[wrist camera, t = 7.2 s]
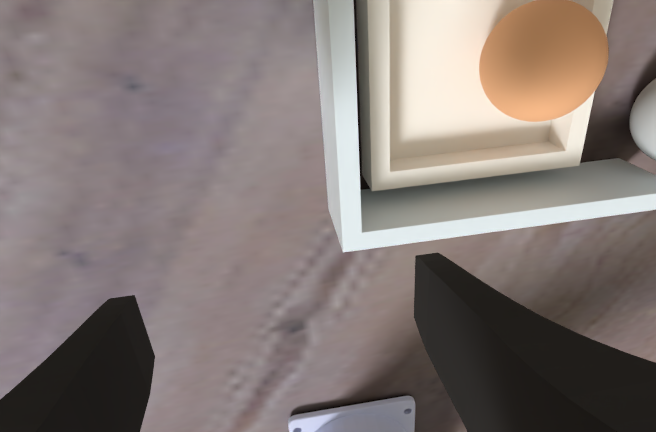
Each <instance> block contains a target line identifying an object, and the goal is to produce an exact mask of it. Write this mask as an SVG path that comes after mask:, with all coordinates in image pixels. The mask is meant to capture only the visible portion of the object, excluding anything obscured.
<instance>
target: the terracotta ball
mask: <svg viewBox="0 0 656 432" xmlns="http://www.w3.org/2000/svg"><path fill="white" fill-rule="evenodd" d="M608 53H609V49H608V40H607V37H606V33H605V31H604V29H603V27H602V25H601V23H600V22H599V20H598V19H597V17H596V16H595V15H594V14H593V13H592V12H590V11H589V10H588V9H586V8H585V7H584V6H582V5H580V4H578V3H576V2H573V1H569V0H536V1H532V2H529V3H527V4H524V5H522V6H520V7H518V8H516V9H514V10H513V11H511V12H510V13H509V14H507V15H506V16H505V17H504V18H503V19H502V20H500V21H499V22H498V24H497V25H496V26H495V27H494V28H493V30H492V31H491V33H490V34H489V36H488V37H487V39H486V41H485V44H484V46H483V49H482V52H481V56H480V62H479V75H480V81H481V85H482V87H483V90H484V92H485V94H486V96H487V98H488V99H489V100H490V102H491V103H492V104H493V105H494V106H495V107H496V108H497V109H498V110H500V111H501V112H503V113H504V114H506V115H508V116H510V117H512V118H515V119H518V120H522V121H528V122H540V121H547V120H552V119H556V118H559V117H562V116H564V115H566V114H568V113H570V112H572V111H573V110H575V109H576V108H578V107H579V106H580V105H582V104H583V103H584V102H585V101H586V100H587V99H588V98H589V97H590V96H591V95H592V94H593V93H594V91H595V90H596V89H597V87H598V85H599V84H600V82H601V80H602V78H603V76H604V73H605V70H606V67H607V63H608Z"/></svg>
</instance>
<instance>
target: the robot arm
mask: <svg viewBox="0 0 656 432" xmlns="http://www.w3.org/2000/svg"><path fill="white" fill-rule="evenodd" d="M414 318H415V321H416V324H417V327H418V330H419V333H420V335H421V338H422V341H423V344H424V346H425V349H426V351H427V353H428V355H429V357H430V359H431V361H432V363H433V365H434V367H435V369H436V371H437V373H438V375H439V377H440V379H441V381H442V383H443V384H444V386H445V388H446V390H447V392H448V394H449V396H450V398H451V400H452V402H453V404H454V406H455V408H456V410H457V411H458V413H459V415H460V417H461V419H462V421H463V423H464V425H465V427H466V429H467V432H656V363H655V362H651V361H648V360H645V359H643V358H640V357H637V356H634V355H631V354H628V353H625V352H623V351H620V350H618V349H615V348H612V347H610V346H607V345H605V344H602V343H600V342H597V341H594V340H592V339H590V338H587V337H585V336H583V335H580V334H578V333H576V332H574V331H571V330H569V329H567V328H565V327H563V326H561V325H559V324H556V323H554V322H552V321H550V320H548V319H546V318H544V317H542V316H540V315H538V314H536V313H535V312H533V311H531V310H529V309H527V308H526V307H524V306H522V305H520V304H518V303H517V302H515V301H513V300H511V299H510V298H508V297H506V296H505V295H503V294H501V293H500V292H498V291H496V290H495V289H493V288H492V287H490V286H488V285H487V284H485V283H484V282H482V281H481V280H479V279H478V278H476V277H474V276H473V275H471V274H470V273H468V272H467V271H465V270H464V269H462V268H461V267H459V266H458V265H456V264H455V263H453V262H452V261H450V260H449V259H447V258H446V257H444V256H443V255H441V254H439V253H432V254H425V255H418V256H416V262H415V297H414ZM154 359H155V355H154V352H153V349H152V346H151V343H150V340H149V337H148V334H147V331H146V328H145V325H144V322H143V319H142V316H141V313H140V310H139V307H138V304H137V301H136V298H135V295H132V296H125V297H118V298H111V299H108V300H107V301H106V302H105V303H104V304H103V305H102V306H101V307H99V308H98V309H97V310H96V311H95V312H94V313H93V314H92V315H91V316H90V317H89V318H88V319H87V320H86V321H85V322H84V323H83V324H82V325H81V326H80V327H79V328H78V329H77V330H76V331H75V332H74V333H73V334H72V335H71V336H70V337H69V338H68V339H67V340H66V341H65V342H64V343H63V344H62V345H61V346H60V347H58V348H57V349H56V350H55V351H54V352H53V353H52V354H51V355H50V356H49V357H48V358H47V359H46V360H45V361H44V362H43V363H41V364H40V365H39V366H38V367H37V368H36V369H35V370H34V371H32V372H31V373H30V374H29V375H28V376H27V377H26V378H25V379H24V380H22V381H21V382H20V383H19V384H18V385H17V386H16V387H15V388H13V389H12V390H11V391H10V392H9V393H8V394H6V395H5V396H4V397H3V398H2V399H1V400H0V432H140V429H141V425H142V422H143V418H144V414H145V411H146V407H147V403H148V399H149V395H150V389H151V383H152V376H153V368H154ZM288 426H289V432H414V431H415V401H414V398H413V397H412V396H402V397H396V398H390V399H384V400H379V401H373V402H367V403H361V404H355V405H349V406H344V407H338V408H332V409H326V410H320V411H315V412H309V413H303V414H297V415H293V416H291V417H290V418H289V419H288Z"/></svg>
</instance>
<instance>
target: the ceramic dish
mask: <svg viewBox="0 0 656 432" xmlns="http://www.w3.org/2000/svg"><path fill="white" fill-rule="evenodd" d="M532 1H536V0H356V11H357V41H358V71H359V100H360V130H361V159H362V175H363V177H364V179H365V180H366V182H367V184H368V185H369V187H370V189H371V191H379V190H387V189H395V188H403V187H411V186H419V185H428V184H436V183H444V182H452V181H460V180H468V179H476V178H484V177H492V176H500V175H508V174H516V173H524V172H532V171H540V170H548V169H557V168H565V167H573V166H579V165H580V160H581V156H582V151H583V146H584V141H585V136H586V131H587V127H588V122H589V117H590V112H591V107H592V102H593V97H594V93H595V91H594V93H593V94H592V95H591V96H590V97H589V98H588V99H587V100H586V101H585V102H584V103H583V104H582V105H580V106H579V107H578V108H576V109H575V110H573V111H572V112H570V113H568V114H566V115H564V116H562V117H559V118H556V119H552V120H547V121H540V122H528V121H522V120H518V119H515V118H512V117H510V116H508V115H506V114H504V113H503V112H501V111H500V110H498V109H497V108H496V107H495V106H494V105H493V104H492V103H491V102H490V100H489V99H488V98H487V96H486V94H485V92H484V90H483V87H482V85H481V81H480V75H479V62H480V56H481V52H482V49H483V46H484V44H485V41H486V39H487V37H488V36H489V34H490V33H491V31H492V30H493V28H494V27H495V26H496V25H497V24H498V22H499V21H500V20H502V19H503V18H504V17H505V16H506V15H507V14H509V13H510V12H511V11H513V10H514V9H516V8H518V7H520V6H522V5H524V4H527V3H529V2H532ZM569 1H573V2H576V3H578V4H580V5H582V6H584V7H585V8H586V9H588V10H589V11H590V12H592V13H593V14H594V15H595V16H596V17H597V19H598V20H599V22H600V23H601V25H602V27H603V29H604V31H605V33H606V34H607V30H608V25H609V20H610V15H611V10H612V5H613V1H614V0H569Z"/></svg>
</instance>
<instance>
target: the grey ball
mask: <svg viewBox="0 0 656 432" xmlns="http://www.w3.org/2000/svg"><path fill="white" fill-rule="evenodd" d="M629 124H630V131H631V135H632V137H633V140H634V142H635V143H636V145H637V146H638V147H639V149H640V150H641V151H642V152H643V153H645V154H646V155H647V156H649V157H650V158H652V159H654V160H656V79H654V80H653V81H652V82H650V83H649V84H648V85H647V86H646V87H645V88H644V89H643V90H642V92H641V93H640V94H639V95H638V97H637V98H636V100H635V102H634V104H633V107H632V110H631V114H630V121H629Z"/></svg>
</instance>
